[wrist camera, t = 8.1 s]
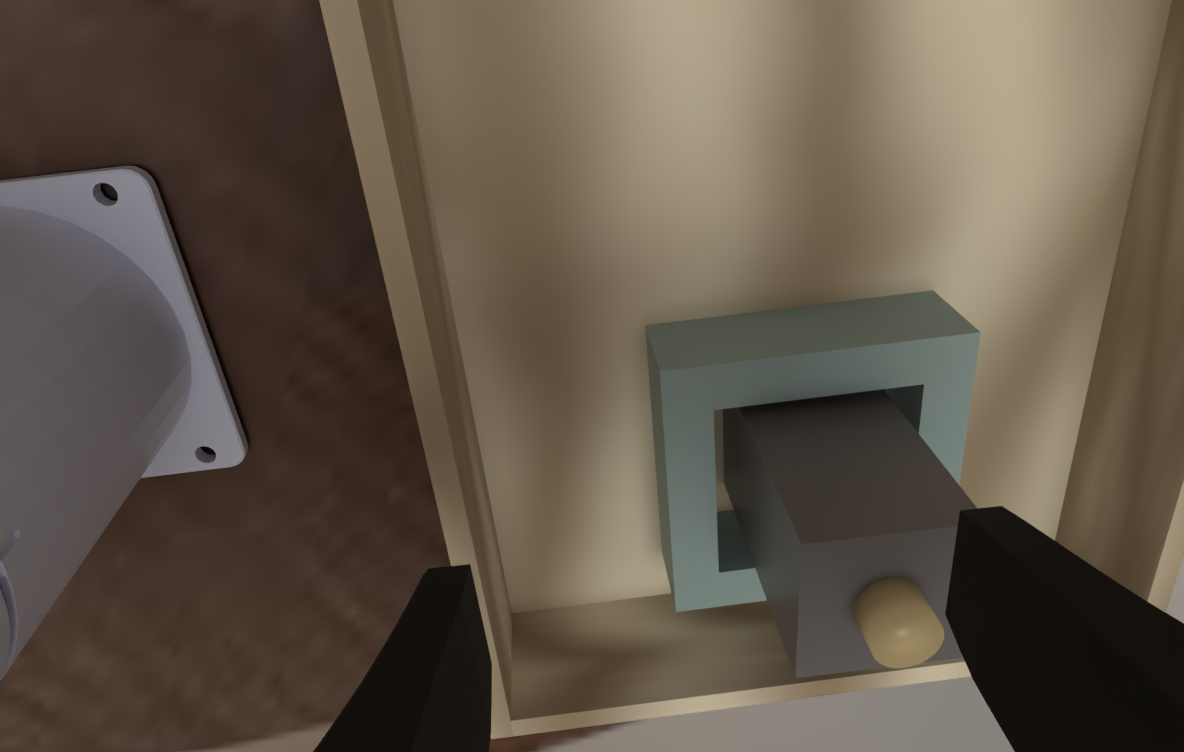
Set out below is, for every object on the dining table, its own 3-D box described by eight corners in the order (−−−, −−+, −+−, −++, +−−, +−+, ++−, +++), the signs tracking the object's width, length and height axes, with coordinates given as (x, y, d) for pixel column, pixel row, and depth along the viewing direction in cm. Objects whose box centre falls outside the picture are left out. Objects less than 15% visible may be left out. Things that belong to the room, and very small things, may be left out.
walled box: (496, 616, 26) (491, 739, 22) (342, -123, 17) (286, -138, 13) (1058, 544, 26) (1153, 652, 23) (1227, -220, 17) (1443, -265, 13)
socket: (662, 551, 25) (676, 612, 22) (645, 324, 21) (659, 371, 19) (908, 519, 25) (946, 577, 23) (933, 290, 21) (980, 332, 19)
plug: (723, 482, 24) (810, 717, 17) (722, 371, 22) (818, 581, 15) (849, 468, 24) (987, 695, 17) (857, 355, 22) (1016, 557, 15)
